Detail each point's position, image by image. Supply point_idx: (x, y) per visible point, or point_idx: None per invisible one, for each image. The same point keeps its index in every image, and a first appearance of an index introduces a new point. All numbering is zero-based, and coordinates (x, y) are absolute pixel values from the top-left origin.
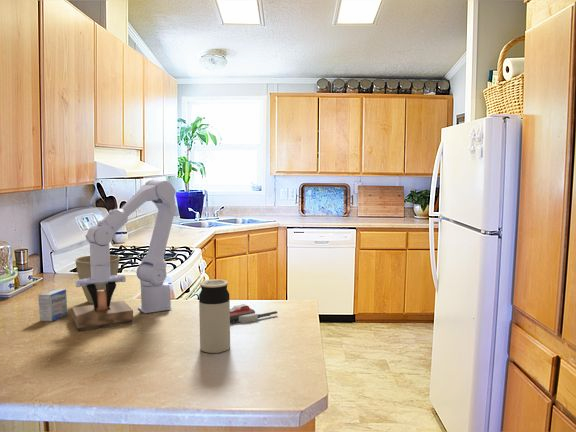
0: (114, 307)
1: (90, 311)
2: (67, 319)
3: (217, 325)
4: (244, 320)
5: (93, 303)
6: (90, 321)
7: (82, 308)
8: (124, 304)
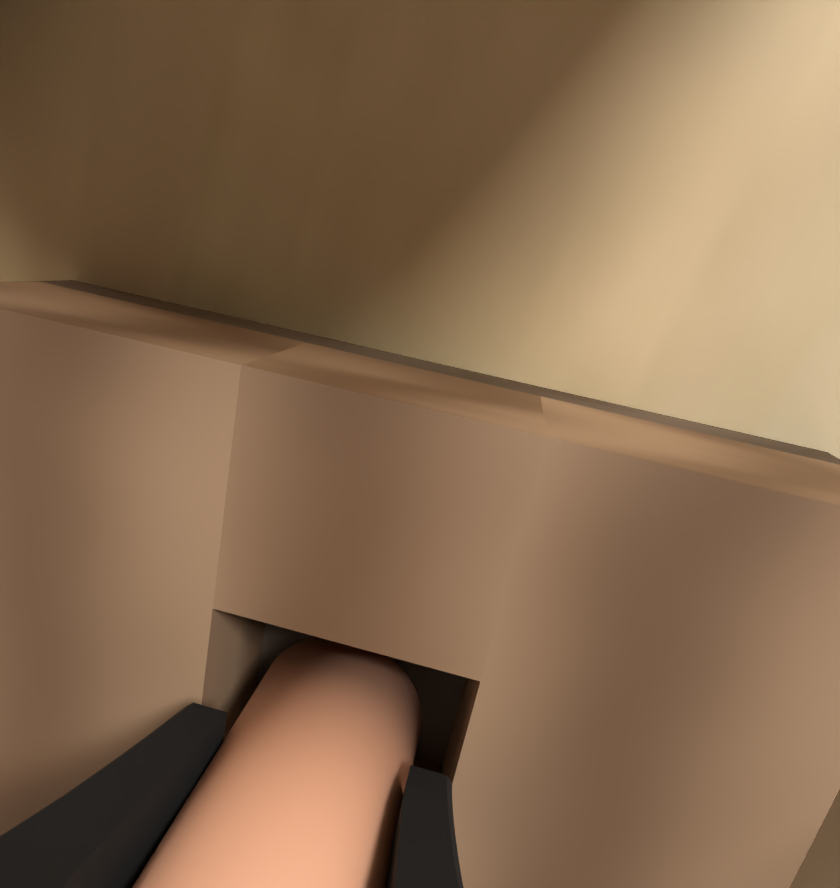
0: (520, 834)
1: (128, 748)
2: (16, 205)
3: None
4: None
5: (143, 747)
6: None
7: (50, 496)
8: (770, 799)
